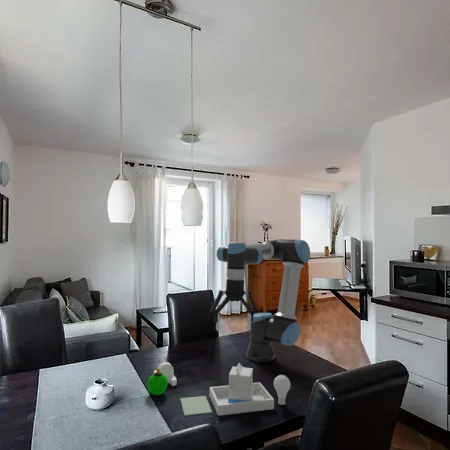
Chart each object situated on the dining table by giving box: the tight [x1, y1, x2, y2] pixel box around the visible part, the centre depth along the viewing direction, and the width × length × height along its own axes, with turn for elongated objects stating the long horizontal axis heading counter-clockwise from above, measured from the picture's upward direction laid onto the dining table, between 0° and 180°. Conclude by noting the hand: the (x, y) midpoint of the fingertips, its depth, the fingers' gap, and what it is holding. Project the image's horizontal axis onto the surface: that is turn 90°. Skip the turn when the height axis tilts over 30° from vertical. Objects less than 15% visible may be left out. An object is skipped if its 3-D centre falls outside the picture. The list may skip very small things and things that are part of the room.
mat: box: [179, 395, 213, 417], centre depth 123 cm, size 10×12×1 cm
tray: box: [208, 381, 275, 416], centre depth 127 cm, size 22×15×4 cm
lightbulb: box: [273, 374, 291, 406], centre depth 126 cm, size 6×6×11 cm
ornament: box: [146, 367, 169, 396], centre depth 131 cm, size 8×8×10 cm
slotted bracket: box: [153, 361, 178, 387], centre depth 144 cm, size 13×7×8 cm, turn 27°
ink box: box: [228, 362, 254, 403], centre depth 127 cm, size 9×8×13 cm
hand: (233, 329), depth 137 cm, fingers open, 13 cm apart
